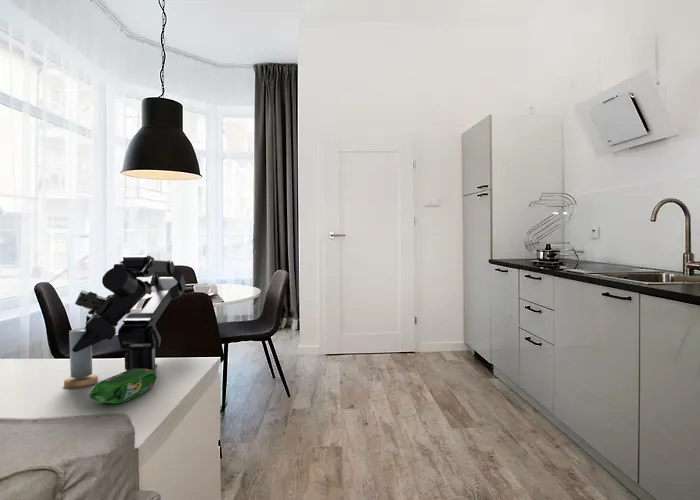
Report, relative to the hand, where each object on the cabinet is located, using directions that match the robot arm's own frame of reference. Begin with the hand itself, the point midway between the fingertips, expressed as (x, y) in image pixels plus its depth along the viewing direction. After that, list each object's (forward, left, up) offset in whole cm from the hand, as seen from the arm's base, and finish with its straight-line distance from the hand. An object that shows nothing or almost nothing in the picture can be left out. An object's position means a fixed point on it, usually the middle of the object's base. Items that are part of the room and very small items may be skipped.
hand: (73, 348), depth 103 cm
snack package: (-15, +11, -9) cm, 20 cm away
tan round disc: (-1, 0, -9) cm, 9 cm away
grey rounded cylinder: (-1, 0, -7) cm, 7 cm away
